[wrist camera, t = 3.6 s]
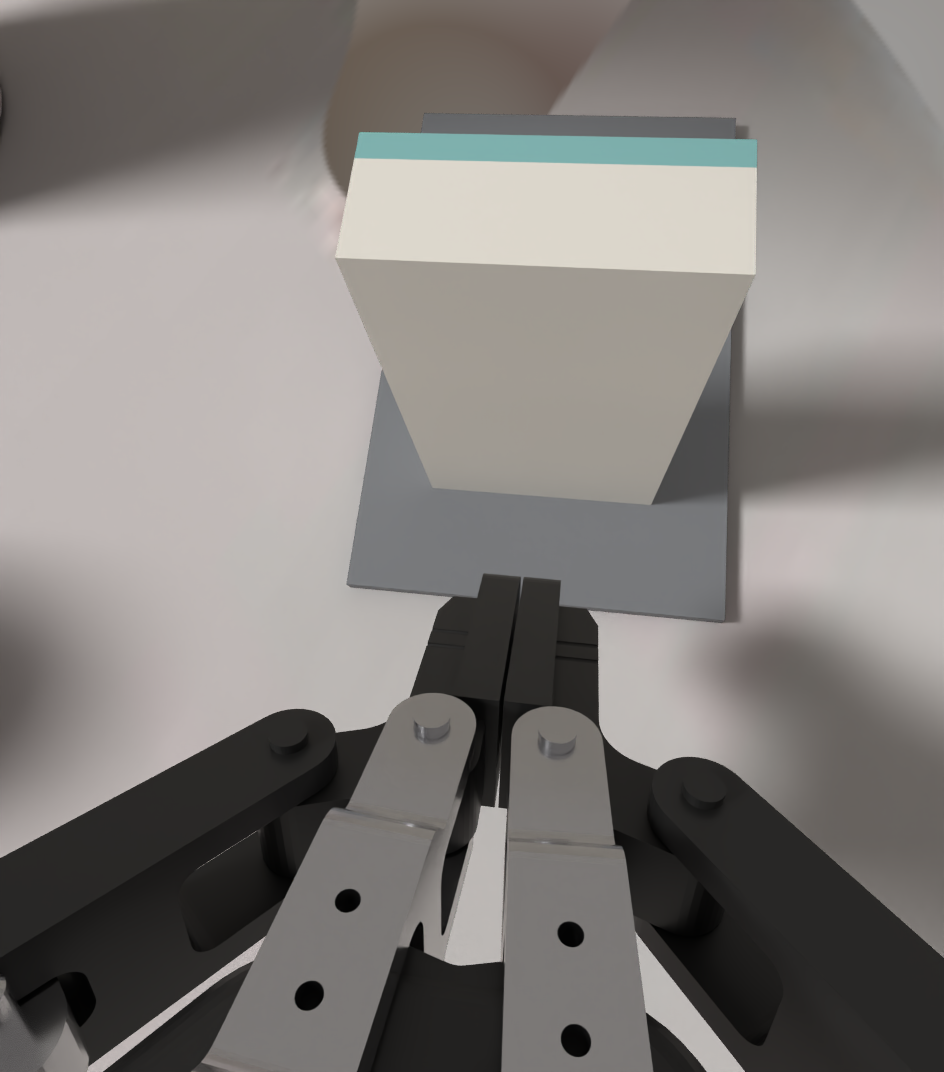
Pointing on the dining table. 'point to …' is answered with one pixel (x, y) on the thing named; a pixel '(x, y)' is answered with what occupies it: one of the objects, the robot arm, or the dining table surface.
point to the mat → (547, 522)
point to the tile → (548, 298)
